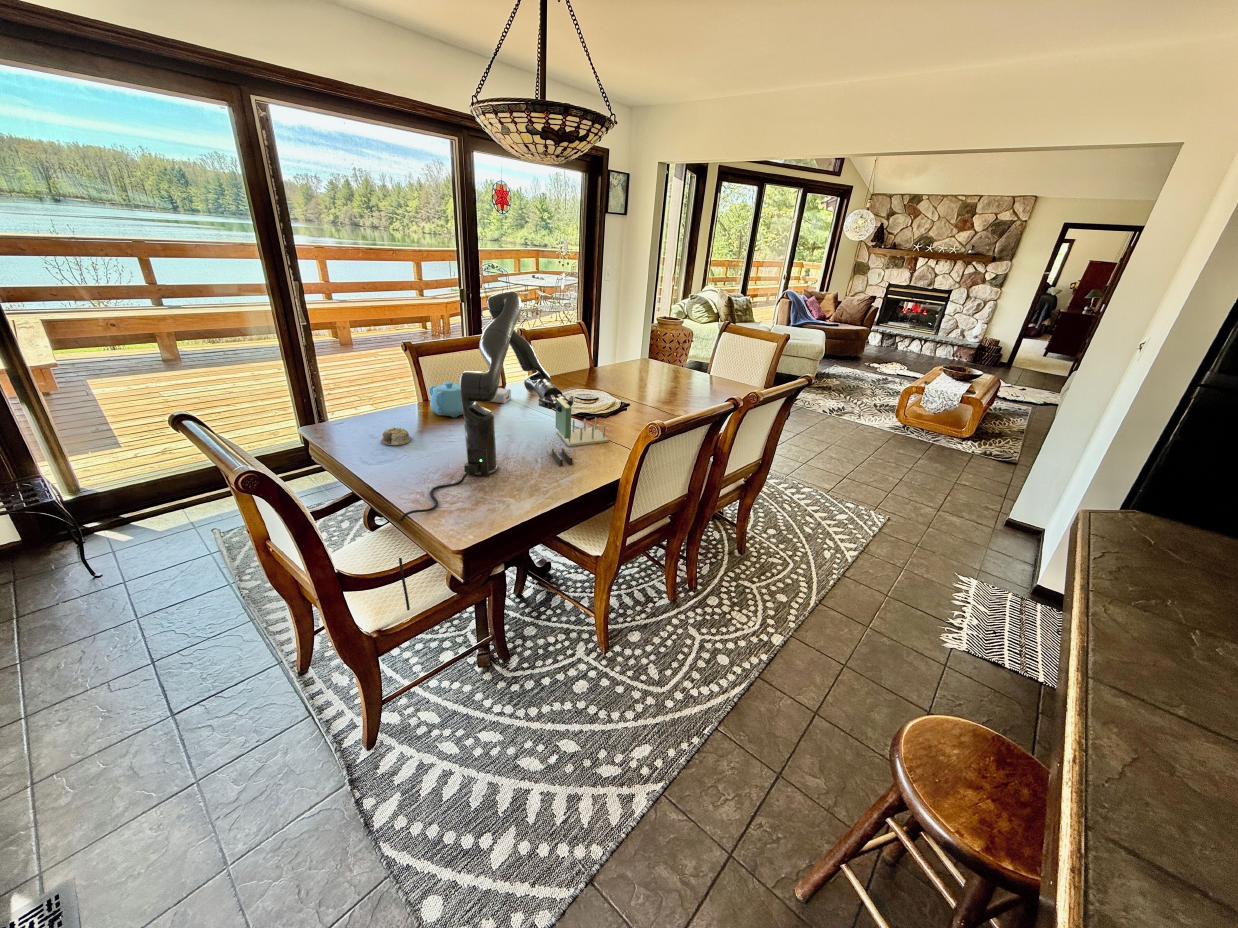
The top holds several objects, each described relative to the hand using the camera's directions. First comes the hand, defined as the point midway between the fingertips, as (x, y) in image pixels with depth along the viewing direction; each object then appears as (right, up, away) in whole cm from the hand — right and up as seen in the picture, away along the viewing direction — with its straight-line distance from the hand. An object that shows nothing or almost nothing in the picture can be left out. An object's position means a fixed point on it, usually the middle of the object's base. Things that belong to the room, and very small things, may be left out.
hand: (564, 409), depth 164 cm
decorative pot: (-54, +3, +43) cm, 69 cm away
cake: (-64, -10, +13) cm, 66 cm away
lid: (-1, -8, +5) cm, 9 cm away
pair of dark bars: (-2, -17, +8) cm, 19 cm away
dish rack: (+4, -8, +27) cm, 29 cm away
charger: (-41, +12, +62) cm, 76 cm away
